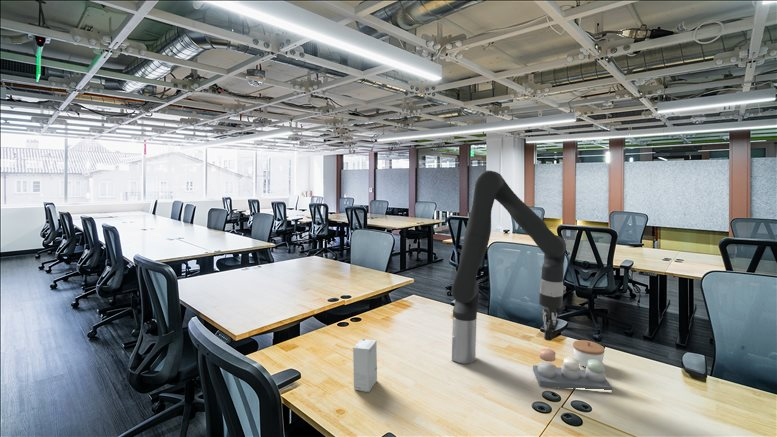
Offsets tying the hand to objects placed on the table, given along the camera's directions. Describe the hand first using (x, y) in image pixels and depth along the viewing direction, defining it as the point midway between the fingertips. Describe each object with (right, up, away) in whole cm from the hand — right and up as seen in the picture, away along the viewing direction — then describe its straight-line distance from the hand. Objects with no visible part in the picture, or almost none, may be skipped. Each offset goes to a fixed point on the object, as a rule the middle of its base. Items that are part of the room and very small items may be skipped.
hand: (548, 339), depth 130 cm
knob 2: (+16, -10, -2) cm, 19 cm away
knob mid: (+8, -10, -1) cm, 12 cm away
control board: (+8, -15, 0) cm, 17 cm away
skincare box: (-65, -15, -3) cm, 67 cm away
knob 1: (0, -7, 0) cm, 7 cm away
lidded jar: (+20, -14, +12) cm, 27 cm away
